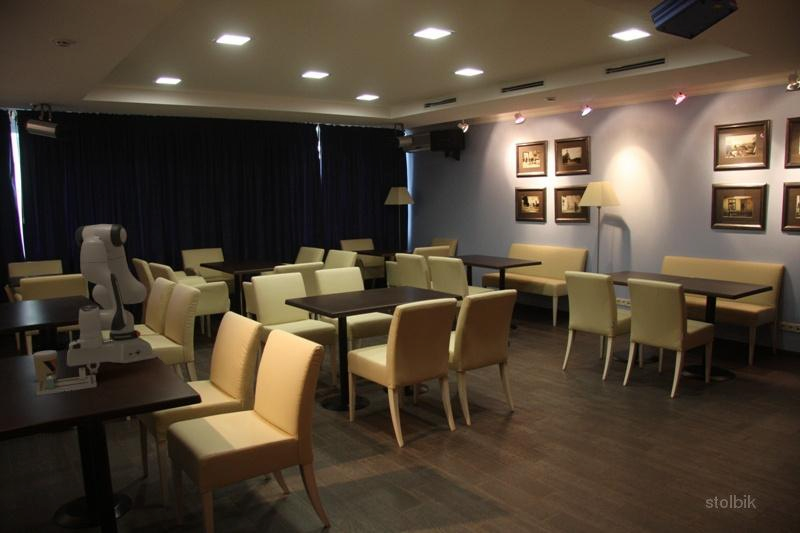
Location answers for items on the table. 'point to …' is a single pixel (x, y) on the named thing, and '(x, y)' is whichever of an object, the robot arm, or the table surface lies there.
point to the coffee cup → (45, 364)
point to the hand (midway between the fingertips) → (93, 372)
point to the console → (67, 385)
